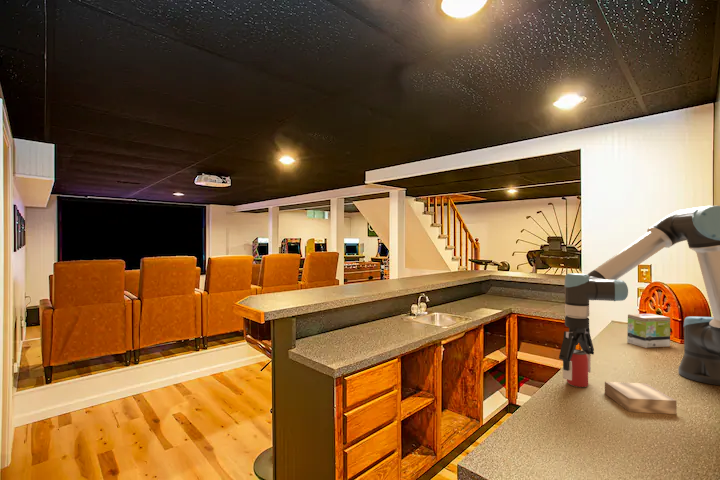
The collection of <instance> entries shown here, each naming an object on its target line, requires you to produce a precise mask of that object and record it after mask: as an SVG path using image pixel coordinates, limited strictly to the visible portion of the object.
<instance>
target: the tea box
mask: <svg viewBox="0 0 720 480" xmlns="http://www.w3.org/2000/svg"><path fill="white" fill-rule="evenodd" d="M626 334H627V338H626V339H627V341H626V342H627V344H628V343H629V344H631V345H634V346H637V347H641V348H645V349H647V348H659V347H663V348H664V347H670V346H671V317H669V316H664V315H659V314H655V313H633V314H631V313H630V314H629V313H628V314H627V333H626Z"/></svg>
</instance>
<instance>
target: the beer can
mask: <svg viewBox="0 0 720 480" xmlns="http://www.w3.org/2000/svg"><path fill="white" fill-rule="evenodd" d="M570 361H572V380H568V379H566V382H567V384H568V383H569V384H568V385H570V386H572V387H576V388H580V387H581V388H587V387H589V372H588V357H587V355H586V352H585V351H583V350H582V349H577V348H575V350H574V352H573V355H572V358H571V360H570Z"/></svg>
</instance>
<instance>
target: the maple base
mask: <svg viewBox="0 0 720 480" xmlns="http://www.w3.org/2000/svg"><path fill="white" fill-rule="evenodd" d="M604 394H605V395H607V397H609V398H610V399H611V400H613V401H615V402H616V403H617V404H618V405H620V406H621V407H623V409H625V410H627V411H628V412H630V413H650V414H667V415H668V414H670V415H677V414H678V413H677V408H678V407H677V400H676V399H674V398H673V397H671V396H669V395H667V394H665V392H662V391H661V390H659V389H657V388H656V387H654V386H652V385H650V384H648V383H646V382H645V383H643V382H624V381H623V382H622V381H621V382H620V381H619V382H618V381H604Z"/></svg>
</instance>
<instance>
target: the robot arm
mask: <svg viewBox="0 0 720 480" xmlns="http://www.w3.org/2000/svg"><path fill="white" fill-rule="evenodd" d="M683 241H686V242H687V245H688V248H689V249H690V250H692V251H694V252H695V254H696V257H697V260H698V264H699V267H700V271H701V272H700V273H701V275H702V279H703V282H704V286H705V291H706V294H707V298H708V303H709V305H710V309H711V312H712V316H697V315H696V316H693V315H692V316H686V317H685V318H684V321H683V326H682V327H683V336H684V337H683V342H684V343H683V345H684V347H683V348H684V349H683V350H684V354H683V357H682V359H681V361H680V364H679V365H678V374H679V375H680V376H682V377H684V378H686V379H688V380H691V381H695V382H700V383H703V384H708V385H715V386H720V205H703V206H698V207H697V206H695V207H692V208H681V209H678V210H676V211H674V212H672V213H669V214H668V215H666V216H665V217H663V218H661V219H659V220H658V221H657V222H655V223H654V224H653V225H651V226H650V227H649V228H648V229H647V231H646V233H645V234H644V235H641V236H640V237H639V238H638V239H636V240H635V241H634V242H632V243H631V244H629V245H627V246H626V247H625V248H623V249H622V250H620V251H619V252H618V253H616V254H615V255H612V257H611V258H609V259H608V260H606V261H605V262H604V263H602V264H600V265H599V266H597V267H596V268H595V269H594V270H591V271H590V272H588V273H578V272H577V273H575V272H574V273H573V272H571V273H566V275H565V277H564V287H563V288H564V306H563V307H564V314H565V316H564V326H565V327H566V328H567V327H568V331H564V332H563V339H562V342H561V348H560V352H559V356H558V359H559V360H561V361H562V378H563V380H564V379H565V380H567V379H568V380H572V361H570V360H571V358H572V355H573V352H574V350H575V349H576V346H578V345H579V346H580V348H581V350H582V351H585V352H586V355H587V357H588V374H589V373H591V372H592V366H591V365H592V362H591V361H592V360H591V359H592V357H591V356H592V355H594V354H595V349H594V344H593V340H592V337H591V334H590V333H591V330H590V319H589V317H590V301H605V302H606V301H608V302H609V301H610V302H619V301H620V302H622V301H625V300H626V299H627V297H628V296H629V287H628V285H627V283H626V282H625V281H624V280H622V279H621V277H623V276H625V275H626V274H627V273H628V272H631V271H632V270H633V269H635V268H636V267H638V266H639V265H640V264H642V263H644V262H645V261H647V260H648V259H650V258H652V256H654V255H655V254H656V253H658V252H660V251H661V250H663V249H665V248H666V249H667V248H671V247H672V246H675V244H678V243H681V242H683ZM619 278H620V279H619Z"/></svg>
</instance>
